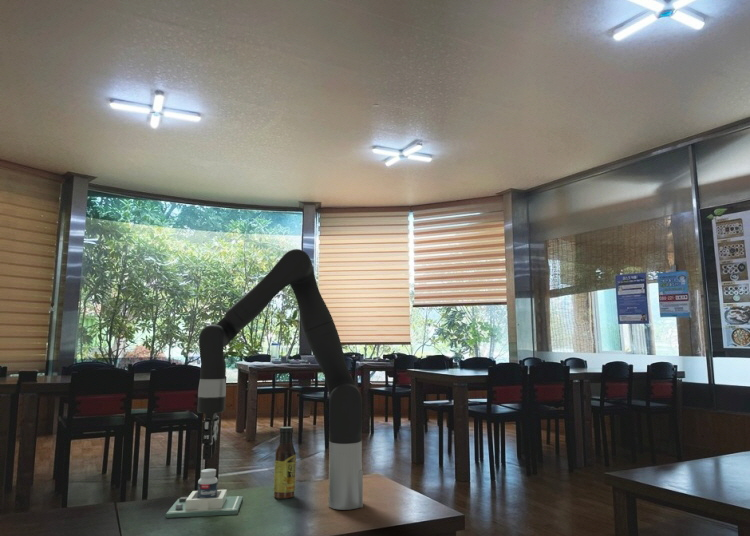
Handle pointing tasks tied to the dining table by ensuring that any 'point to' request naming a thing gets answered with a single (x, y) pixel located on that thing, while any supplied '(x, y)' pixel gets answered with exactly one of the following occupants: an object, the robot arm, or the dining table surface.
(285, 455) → the sauce bottle
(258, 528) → the dining table surface
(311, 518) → the dining table surface
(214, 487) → the pill bottle
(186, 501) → the board
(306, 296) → the robot arm
